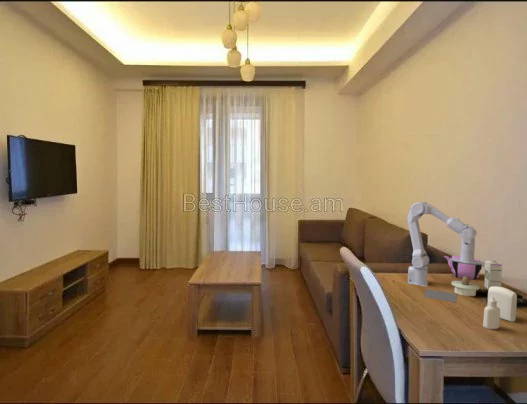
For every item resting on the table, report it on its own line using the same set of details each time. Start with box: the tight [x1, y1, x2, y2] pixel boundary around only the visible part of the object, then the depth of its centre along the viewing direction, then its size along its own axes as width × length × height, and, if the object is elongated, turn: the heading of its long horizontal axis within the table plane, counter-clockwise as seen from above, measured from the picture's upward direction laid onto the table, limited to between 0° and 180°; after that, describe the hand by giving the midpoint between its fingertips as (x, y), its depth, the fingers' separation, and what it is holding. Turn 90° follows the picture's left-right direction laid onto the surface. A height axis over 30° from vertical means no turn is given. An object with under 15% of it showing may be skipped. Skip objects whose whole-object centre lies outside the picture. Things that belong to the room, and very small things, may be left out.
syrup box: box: [483, 259, 503, 291], centre depth 173 cm, size 6×6×14 cm
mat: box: [423, 288, 458, 303], centre depth 162 cm, size 13×13×1 cm
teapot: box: [443, 255, 482, 280], centre depth 195 cm, size 20×10×12 cm, turn 72°
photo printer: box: [486, 286, 518, 323], centre depth 139 cm, size 10×4×12 cm, turn 26°
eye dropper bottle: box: [482, 297, 501, 330], centre depth 129 cm, size 4×6×12 cm
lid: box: [450, 276, 481, 291], centre depth 166 cm, size 12×12×5 cm
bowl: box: [454, 287, 477, 297], centre depth 166 cm, size 9×9×4 cm
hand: (465, 278), depth 166 cm, fingers open, 7 cm apart
